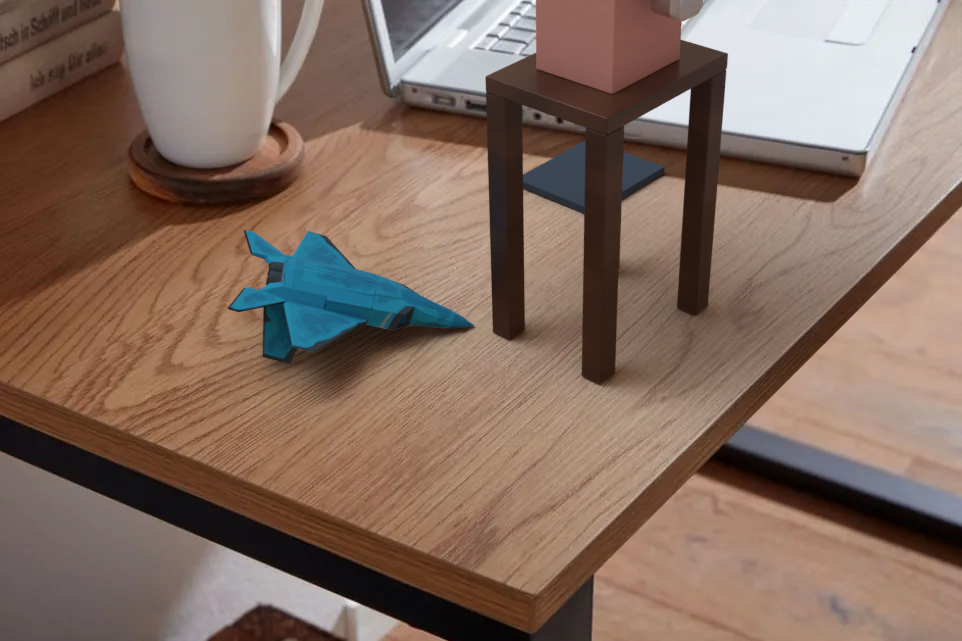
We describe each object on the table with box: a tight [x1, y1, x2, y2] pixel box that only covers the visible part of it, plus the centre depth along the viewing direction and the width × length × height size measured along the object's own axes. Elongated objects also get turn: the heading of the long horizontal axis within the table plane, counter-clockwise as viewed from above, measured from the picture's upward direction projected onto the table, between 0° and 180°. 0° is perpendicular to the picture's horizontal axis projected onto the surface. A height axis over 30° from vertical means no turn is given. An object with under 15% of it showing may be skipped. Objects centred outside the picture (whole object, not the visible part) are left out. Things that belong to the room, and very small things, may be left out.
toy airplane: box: [226, 229, 475, 365], centre depth 68 cm, size 12×10×4 cm
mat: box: [523, 140, 666, 214], centre depth 81 cm, size 6×7×1 cm
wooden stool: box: [484, 39, 729, 385], centre depth 65 cm, size 7×9×14 cm
